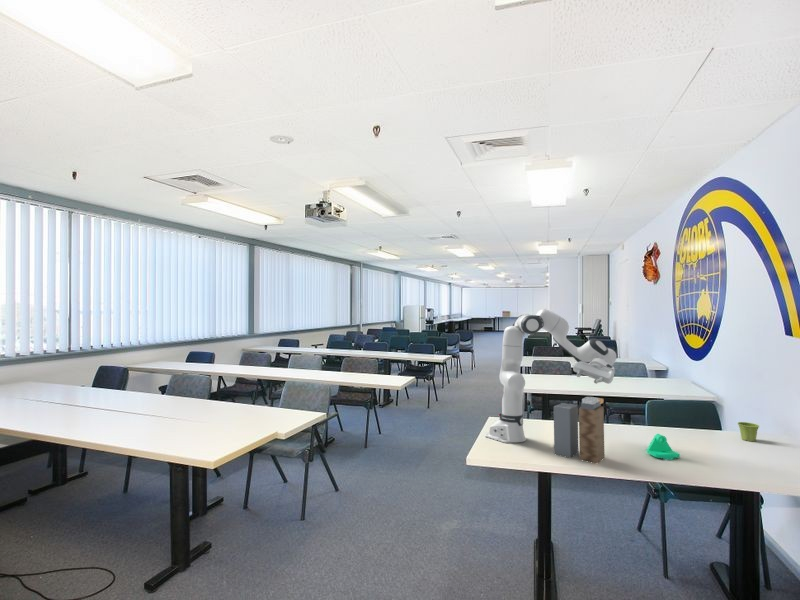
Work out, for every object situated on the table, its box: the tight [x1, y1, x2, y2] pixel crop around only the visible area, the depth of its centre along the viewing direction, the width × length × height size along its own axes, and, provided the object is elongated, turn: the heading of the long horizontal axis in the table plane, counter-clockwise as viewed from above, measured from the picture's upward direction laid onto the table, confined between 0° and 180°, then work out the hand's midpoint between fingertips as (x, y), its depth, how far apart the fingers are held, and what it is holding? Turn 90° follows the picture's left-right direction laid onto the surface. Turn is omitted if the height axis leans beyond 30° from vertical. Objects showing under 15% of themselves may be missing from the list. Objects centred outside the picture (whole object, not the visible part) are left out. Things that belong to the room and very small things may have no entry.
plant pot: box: [737, 421, 760, 442], centre depth 234 cm, size 9×9×9 cm
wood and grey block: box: [580, 396, 604, 410], centre depth 210 cm, size 6×20×4 cm, turn 137°
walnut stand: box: [578, 405, 605, 464], centre depth 206 cm, size 8×11×25 cm
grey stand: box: [553, 402, 580, 458], centre depth 215 cm, size 8×11×24 cm
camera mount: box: [646, 433, 681, 460], centre depth 208 cm, size 12×8×10 cm, turn 92°
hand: (586, 379), depth 224 cm, fingers open, 8 cm apart
